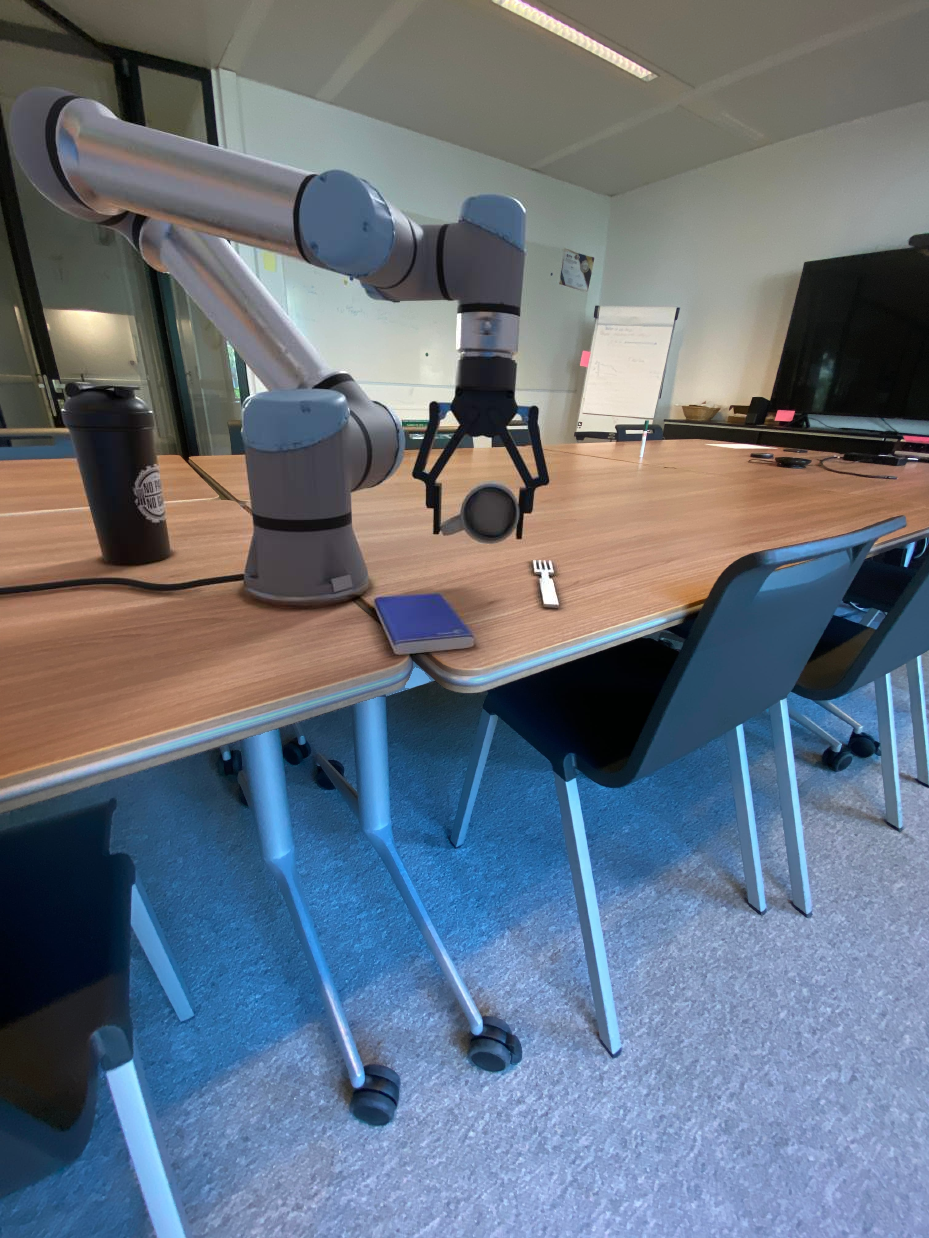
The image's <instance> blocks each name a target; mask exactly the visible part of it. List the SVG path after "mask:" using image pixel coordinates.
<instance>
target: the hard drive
mask: <svg viewBox="0 0 929 1238" xmlns="http://www.w3.org/2000/svg"><path fill="white" fill-rule="evenodd" d="M373 603H374V605H373V606H374V609H375V612H376V614H377V616H378V619H379V621H380V623H381V626H382V628H383V631H384V633H385V635H386V637H387V639H388V641H389V644H390V646H391V649H392V650H393V654H395V655H410V654H411V655H412V654H413V655H414V654H421V653H422V654H423V653H429V652H430V653H432V652H443V651H452V650H461V649H469V648H472V647H473V646H474V642H475V638H474V634H473V633H472V631H471V630H470V629H469V628H468V626H467V625H466V624H465V623H464V621H463V620H462V619H461V618H460V617H459V615H458V613H456V611H455V610H454V609H453V607H452V606H451V604H449V603H448V601H447V600H446V599H445V597H444V596H443V595H442V593H438V592H436V593H421V594H420V593H418V594H407V595H391V596H390V595H388V596H380V597H379V596H378V597H375V598H374V599H373Z"/></svg>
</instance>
